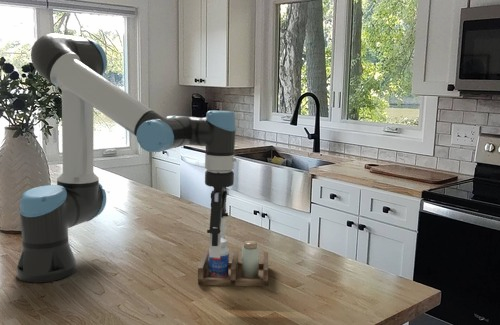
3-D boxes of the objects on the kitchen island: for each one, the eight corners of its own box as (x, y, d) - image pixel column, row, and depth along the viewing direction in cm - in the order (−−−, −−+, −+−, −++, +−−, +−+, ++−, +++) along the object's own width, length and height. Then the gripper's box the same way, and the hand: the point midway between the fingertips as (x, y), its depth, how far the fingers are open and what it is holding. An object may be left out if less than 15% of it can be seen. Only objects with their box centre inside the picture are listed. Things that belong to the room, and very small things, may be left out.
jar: (241, 278, 128) (241, 245, 127) (241, 272, 133) (242, 240, 131) (258, 279, 128) (259, 246, 127) (258, 272, 133) (259, 240, 131)
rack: (197, 288, 125) (197, 268, 124) (204, 269, 138) (204, 250, 137) (267, 290, 124) (268, 269, 123) (267, 271, 137) (268, 252, 136)
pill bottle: (210, 279, 128) (210, 244, 126) (206, 272, 133) (207, 237, 131) (230, 277, 129) (231, 242, 127) (226, 270, 134) (226, 236, 133)
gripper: (230, 180, 114) (227, 266, 117) (236, 162, 138) (234, 234, 142) (198, 179, 114) (196, 264, 118) (210, 161, 139) (208, 233, 142)
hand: (217, 248), depth 130 cm, fingers open, 13 cm apart
